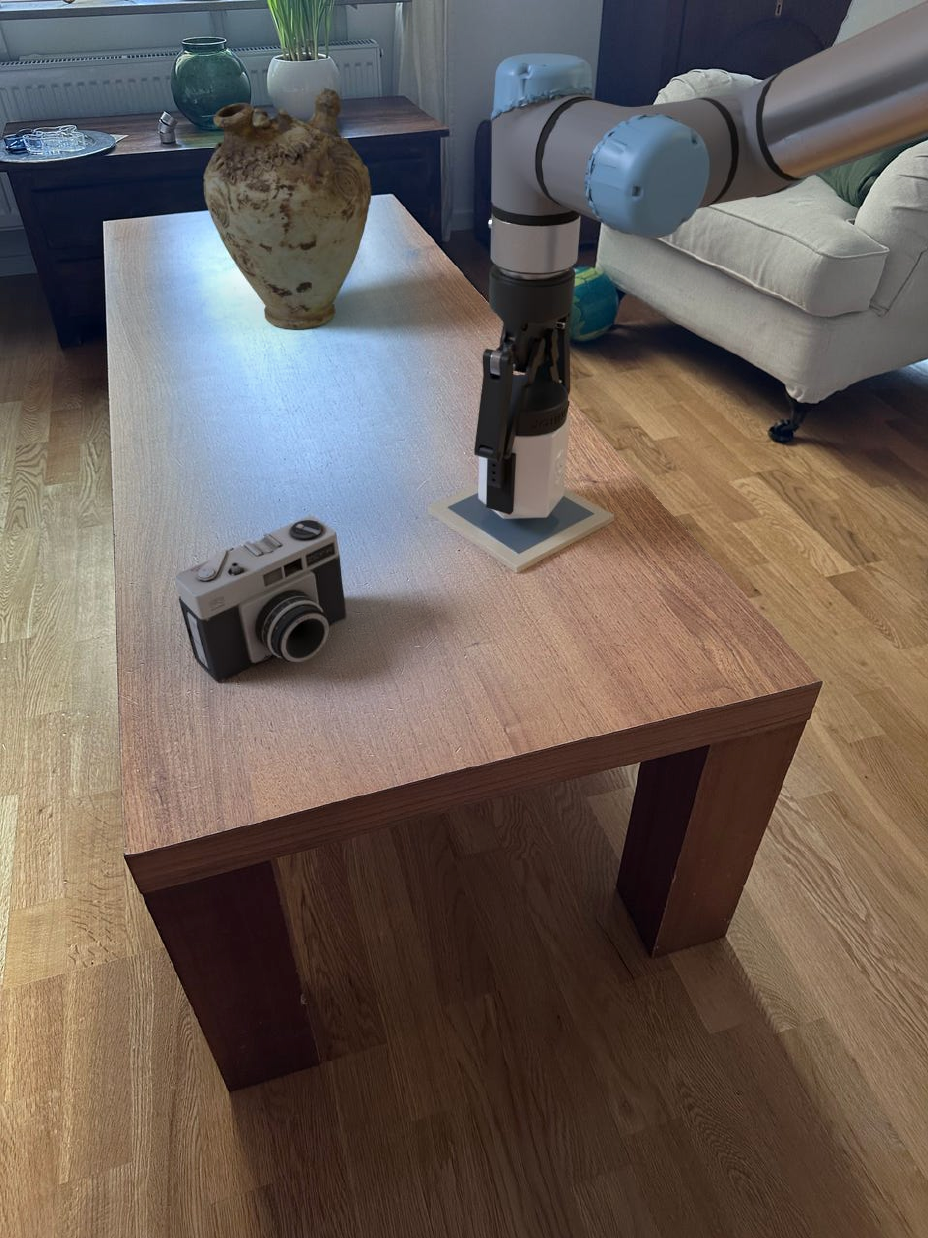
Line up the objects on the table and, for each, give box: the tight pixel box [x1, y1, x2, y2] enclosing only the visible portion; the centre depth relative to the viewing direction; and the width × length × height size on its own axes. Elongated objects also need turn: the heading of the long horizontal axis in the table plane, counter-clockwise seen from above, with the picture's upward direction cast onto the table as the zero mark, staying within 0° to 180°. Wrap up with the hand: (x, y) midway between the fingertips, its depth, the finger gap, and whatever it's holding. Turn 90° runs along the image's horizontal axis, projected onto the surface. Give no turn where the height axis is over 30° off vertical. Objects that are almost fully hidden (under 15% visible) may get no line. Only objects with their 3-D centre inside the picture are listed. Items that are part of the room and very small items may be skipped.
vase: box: [202, 87, 372, 330], centre depth 126 cm, size 23×23×30 cm
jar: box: [477, 374, 571, 519], centre depth 88 cm, size 9×8×12 cm
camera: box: [174, 515, 347, 684], centre depth 75 cm, size 14×9×10 cm, turn 124°
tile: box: [427, 483, 615, 574], centre depth 94 cm, size 14×14×1 cm
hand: (521, 486), depth 91 cm, fingers closed on jar, 9 cm apart
